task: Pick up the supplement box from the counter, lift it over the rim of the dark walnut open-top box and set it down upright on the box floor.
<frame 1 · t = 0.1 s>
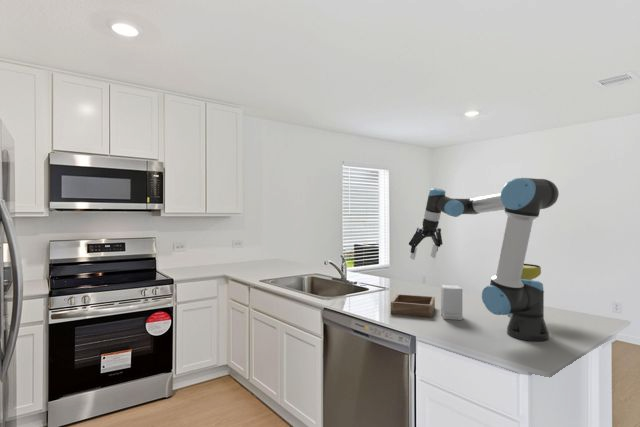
hand: (422, 257, 192), 28 cm above the counter, tool tilted 20°, fingers open, 13 cm apart
walnut box: (413, 310, 193), on the counter
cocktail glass: (519, 317, 181), on the counter
supplement box: (451, 317, 181), on the counter
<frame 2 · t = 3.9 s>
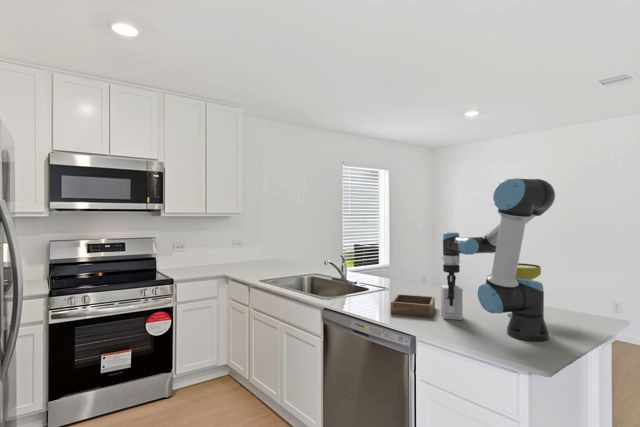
hand: (451, 309, 181), 4 cm above the counter, tool pointing down, fingers closed on supplement box, 10 cm apart
supplement box: (451, 317, 181), on the counter, touching gripper
everything else where it was.
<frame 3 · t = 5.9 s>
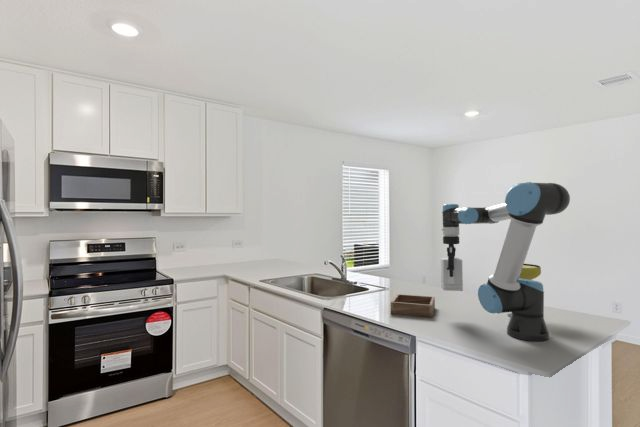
hand: (451, 281, 181), 17 cm above the counter, tool pointing down, fingers closed on supplement box, 10 cm apart
supplement box: (451, 289, 181), point 13 cm above the counter, touching gripper
everything else where it was.
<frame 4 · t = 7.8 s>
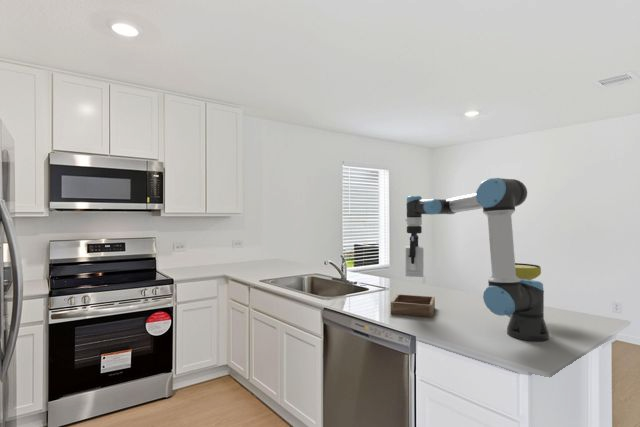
hand: (414, 268, 193), 22 cm above the counter, tool pointing down, fingers closed on supplement box, 10 cm apart
supplement box: (414, 275, 193), point 18 cm above the counter, touching gripper
everything else where it was.
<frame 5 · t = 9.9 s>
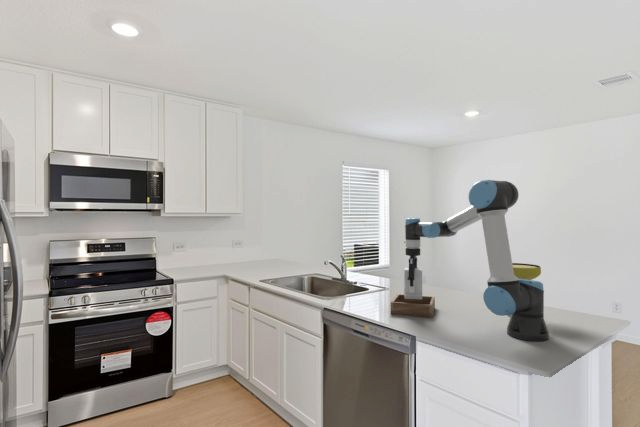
hand: (413, 290, 193), 11 cm above the counter, tool pointing down, fingers closed on supplement box, 10 cm apart
supplement box: (413, 297, 193), point 7 cm above the counter, touching gripper
everything else where it was.
when the fingers open (7 cm above the counter, at t = 11.6 s): supplement box drops 2 cm, resting on walnut box.
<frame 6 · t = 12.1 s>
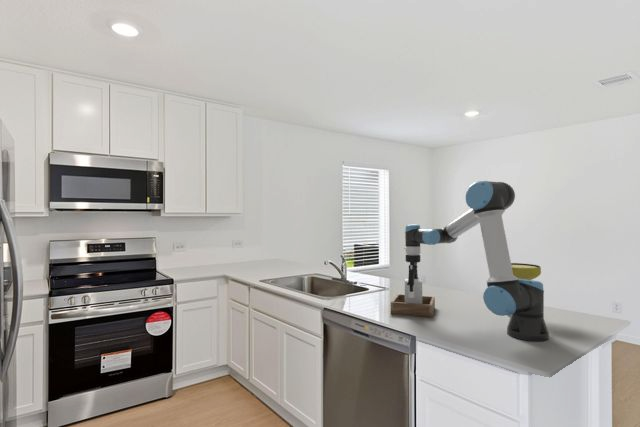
hand: (413, 295, 193), 8 cm above the counter, tool pointing down, fingers open, 13 cm apart
supplement box: (413, 309, 194), point 1 cm above the counter, touching walnut box
everything else where it was.
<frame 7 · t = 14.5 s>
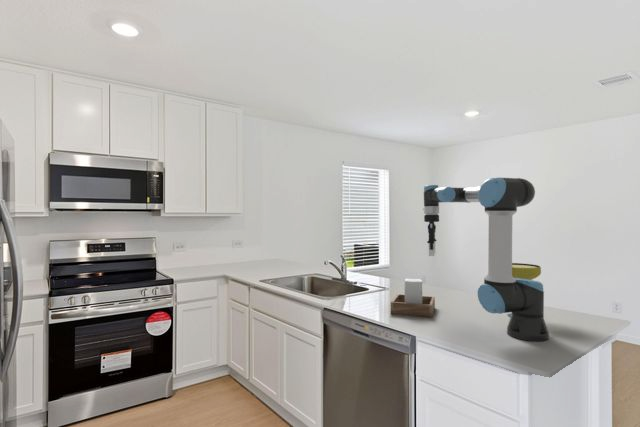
hand: (432, 254, 195), 29 cm above the counter, tool pointing down, fingers open, 13 cm apart
nothing on the counter moved.
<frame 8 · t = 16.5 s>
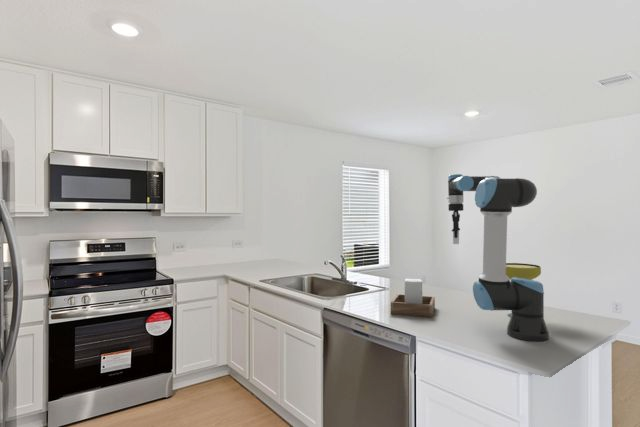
hand: (456, 243, 199), 35 cm above the counter, tool pointing down, fingers open, 13 cm apart
nothing on the counter moved.
at the end: supplement box inside the target area on the walnut box (0.8 cm from its centre), point 0.8 cm above the walnut box's base; supplement box tilted 0°; the gripper is holding nothing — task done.
